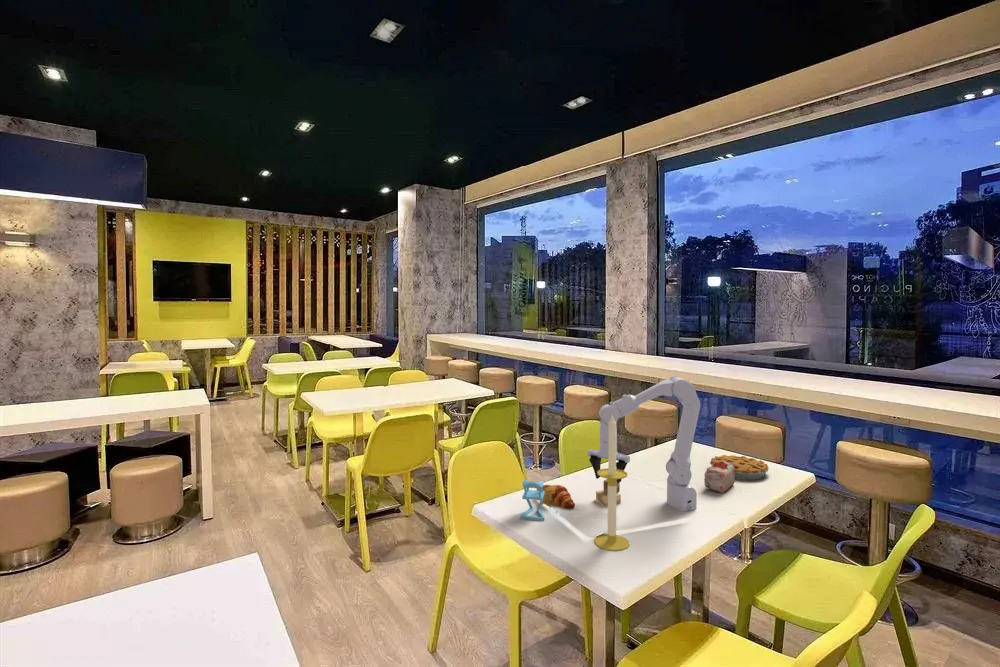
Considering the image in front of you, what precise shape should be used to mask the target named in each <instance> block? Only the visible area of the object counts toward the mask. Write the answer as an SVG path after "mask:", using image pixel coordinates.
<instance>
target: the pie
mask: <svg viewBox="0 0 1000 667" xmlns="http://www.w3.org/2000/svg"><path fill="white" fill-rule="evenodd" d="M713 461H715V462H716V463H717V462H727V463H730V464H732V465H733V466H734V469H735V470H734V472H735V473H734V475H735V479H736V480H745V481H754V480H760V479H762V478H764V476H765V475H766V473H768V471H769V469H770V468H769V466H768V464H767V463H765V462H764V461H762V460H757V459H756V458H752V457H751V458H749V457H746V456H744V455H742V456H736V455H731V454H730V455H726V454H724V455H723V454H721V456H718V455H717V456H716V455H715V456H714V457H711V460H710V461H709V464H710V465H711V468H712V467H713V466H714V464H713Z"/></svg>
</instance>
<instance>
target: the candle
mask: <svg viewBox="0 0 1000 667" xmlns="http://www.w3.org/2000/svg"><path fill="white" fill-rule="evenodd" d="M616 427H617V422H615V420H614V417H613V414H612V417H611V420H610V422H609V459H608V468H602V469H601V468H600V470H599V471H597V474H598V475H599V476H600V477H601V478H603V479H608V507H607V533H604V534H599V535H597V536H596V537H594V540H593V541H594V544H595V546H597V547H598V548H600V549H602V550H606V551H610V552H611V551H612V552H618V551H620V552H621V551H625V550H627V549H628V548H629V547H630V541H629V540H628V539H627V538H626V537H623V536H622V535H618V534H617V505H616V500H617V479H621V480H623V479H626V478H627V477H628V472H627V471H625V470H624V471H623V470H619V469H616V463H617V460H616ZM600 477H599V478H600Z"/></svg>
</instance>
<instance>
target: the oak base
mask: <svg viewBox="0 0 1000 667" xmlns="http://www.w3.org/2000/svg"><path fill="white" fill-rule="evenodd" d="M595 499H596V500H597V501H598V502H600V503H601V504H603V505H604V506H608V493H604V489H602V490H596V491H595ZM621 499H622V494H620V493H619V492H618V493H617V500H616V504H621V503H622V502H621V501H622V500H621ZM597 501H596V502H597ZM598 502H597V503H598ZM600 503H599V504H600ZM601 504H600V505H601ZM603 505H602V506H603ZM621 505H622V504H621ZM604 506H603V507H604Z"/></svg>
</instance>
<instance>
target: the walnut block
mask: <svg viewBox="0 0 1000 667" xmlns="http://www.w3.org/2000/svg"><path fill="white" fill-rule="evenodd" d="M620 483H621V482H620ZM620 483H617V493H618V494H619V493H620V490H621V489H620V488H621V486H620ZM603 490H604V493H608V479H607V478H605V479H604V480H603Z"/></svg>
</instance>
